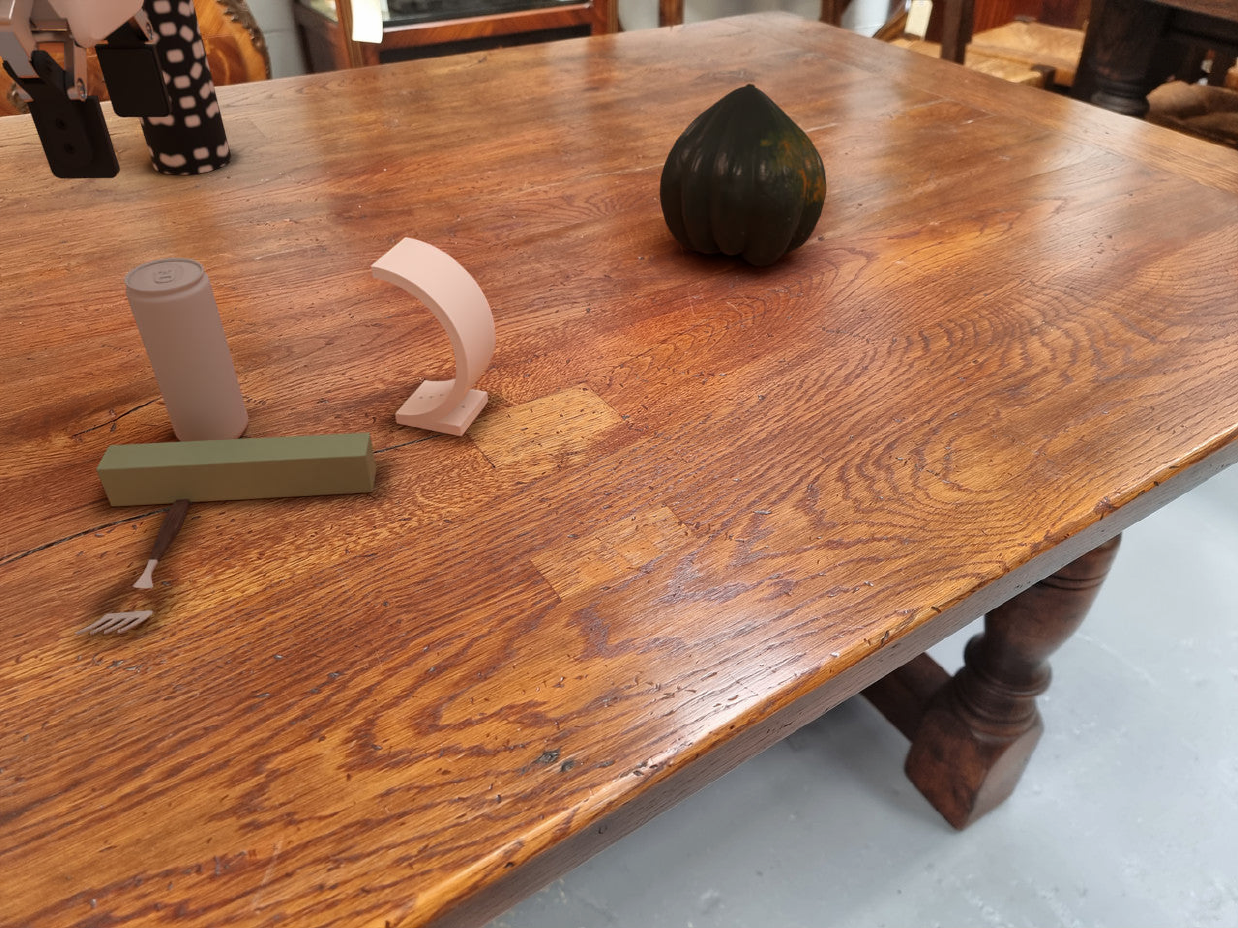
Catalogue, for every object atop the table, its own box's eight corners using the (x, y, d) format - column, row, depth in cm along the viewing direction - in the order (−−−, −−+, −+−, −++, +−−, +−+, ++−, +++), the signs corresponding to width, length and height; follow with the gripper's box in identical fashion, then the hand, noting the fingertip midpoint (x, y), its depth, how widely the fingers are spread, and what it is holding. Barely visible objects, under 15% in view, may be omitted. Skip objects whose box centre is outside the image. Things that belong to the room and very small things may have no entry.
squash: (737, 248, 76) (822, 80, 75) (607, 204, 84) (682, 52, 83) (801, 308, 87) (875, 164, 86) (680, 264, 96) (747, 132, 95)
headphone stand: (426, 389, 68) (405, 236, 61) (501, 404, 67) (489, 249, 60) (396, 423, 65) (370, 265, 57) (474, 439, 63) (458, 280, 56)
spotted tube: (215, 144, 109) (167, -46, 97) (243, 164, 104) (195, -34, 92) (143, 159, 105) (82, -38, 93) (168, 180, 100) (107, -25, 88)
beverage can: (248, 407, 66) (204, 252, 59) (253, 445, 63) (207, 284, 55) (176, 420, 65) (122, 263, 57) (177, 460, 61) (119, 297, 54)
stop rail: (111, 507, 57) (95, 469, 56) (123, 482, 59) (108, 444, 58) (372, 492, 59) (365, 455, 57) (377, 468, 61) (370, 431, 59)
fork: (224, 470, 61) (216, 445, 60) (135, 657, 49) (122, 631, 47) (184, 471, 61) (175, 447, 60) (85, 659, 48) (70, 633, 47)
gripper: (-6, -245, 48) (100, 97, 58) (-206, -238, 34) (-21, 206, 45) (146, -241, 48) (224, 97, 59) (9, -232, 35) (141, 204, 45)
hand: (118, 143), depth 52 cm, fingers open, 9 cm apart
